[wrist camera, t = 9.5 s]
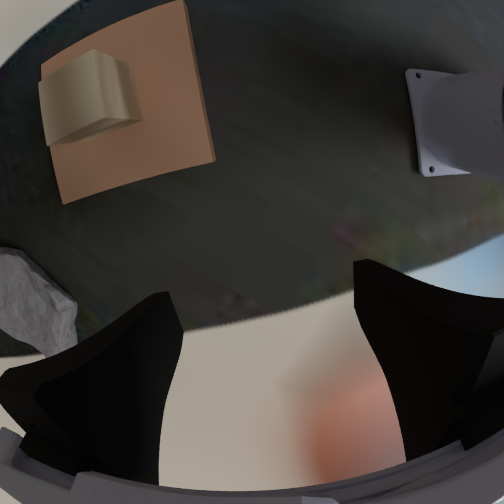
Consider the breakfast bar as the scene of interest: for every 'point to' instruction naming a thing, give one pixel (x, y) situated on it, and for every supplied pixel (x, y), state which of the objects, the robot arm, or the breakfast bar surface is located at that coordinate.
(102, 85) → the birch block
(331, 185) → the breakfast bar surface
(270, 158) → the breakfast bar surface
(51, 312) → the stone block
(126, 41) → the terracotta tile
